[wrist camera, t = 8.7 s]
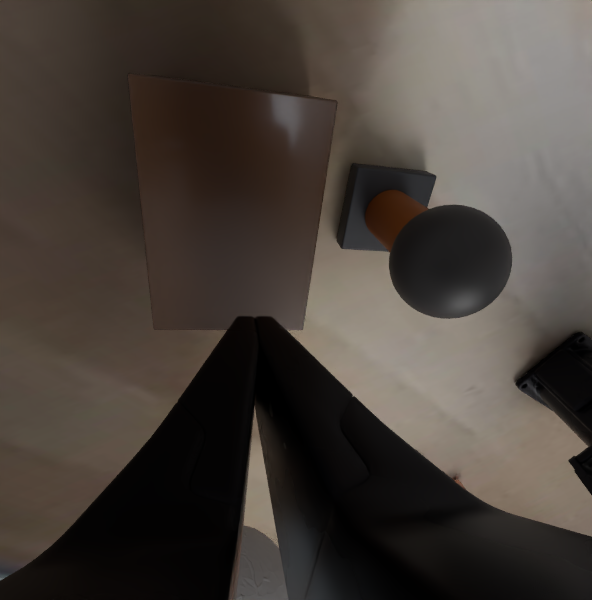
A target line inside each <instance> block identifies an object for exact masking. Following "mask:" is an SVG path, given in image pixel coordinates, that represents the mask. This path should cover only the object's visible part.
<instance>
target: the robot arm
mask: <svg viewBox="0 0 592 600" xmlns="http://www.w3.org/2000/svg"><path fill="white" fill-rule="evenodd" d="M516 386H517V387H518V388H519V389H520V390H521V391H523V392H524V393H526V394H527V395H529V396H530V397H532V398H534V399H535V400H537V401H538V402H540V403H541V404H543V405H544V406H546V407H548V408H549V409H551V410H552V411H554V412H555V413H556V414H557V415H558V416H559V417H560V418H561V419H562V420H563V421H564V422H565V423H566V424H567V425H568V426H569V427H570V428H571V429H572V430H573V431H574V432H575V433H576V434H577V435H578V437H579V438H580V439H581V440H582V441H583V442H584V443H585V444H586V445H587V446H588V448H586V449H585V450H584V451H582V452H581V453H580V454H578V455H577V456H573V457H572V458H571V459H569V460H568V461H569V462H570V464H571V465H572V466H573V468H574V469H575V470H574V471H575V473H576V474H577V476H578V477H579V478H580V480H581V481H582V483H583V484H584V485H585V487H586V488H587V489H588V491H589V492H590V494H591V495H592V340H591V339H590V338H589V337H588V336H587V335H585V334H584V333H583V332H578V333H576V334H574V335H573V336H572V337H571V338H569V339H568V340H567V341H566V342H564V343H563V344H562V345H561V346H560V347H558V348H557V349H556V350H555V351H554V352H552V353H551V354H550V355H549V356H547V357H546V358H545V359H544V360H543V361H541V362H540V363H539V364H538V365H536V366H535V367H534V368H533V369H532V370H530V371H529V372H528V373H527V374H526V375H524V376H523V377H522V378H521V379H519V380H518V381H517V383H516ZM352 396H353V395H352V393H351V392H350V391H348V390H347V389H346V388H345V387H344V386H343V385H342V384H341V383H340V382H339V381H338V380H337V379H336V378H335V377H334V376H333V375H332V374H331V373H330V372H329V371H328V370H327V369H326V368H325V367H324V366H323V365H322V364H321V363H320V362H319V361H318V360H317V359H316V358H315V357H314V356H313V355H311V354H310V353H309V352H308V351H307V350H306V349H305V348H304V347H303V346H302V345H301V344H300V343H299V342H298V341H297V340H296V339H295V338H294V337H293V336H292V335H291V334H290V333H289V332H288V331H287V330H286V329H285V328H284V327H283V326H282V325H281V324H280V323H279V322H278V321H277V320H276V319H274V318H273V317H272V316H257V317H255V318H254V317H253V316H237V317H236V318H235V320H234V321H233V323H232V324H231V326H230V327H229V328H228V330H227V331H226V333H225V334H224V336H223V337H222V338H221V340H220V341H219V343H218V344H217V346H216V347H215V348H214V350H213V351H212V353H211V354H210V356H209V357H208V358H207V360H206V361H205V363H204V364H203V366H202V367H201V368H200V370H199V371H198V373H197V374H196V376H195V377H194V378H193V380H192V381H191V383H190V384H189V386H188V387H187V388H186V390H185V391H184V393H183V394H182V396H181V397H180V398H179V400H178V403H176V404H175V405H174V407H173V408H172V410H171V411H170V412H169V414H168V415H167V417H166V418H165V419H164V421H163V422H162V423H161V425H160V426H159V427H158V429H157V430H156V431H155V433H154V434H153V435H152V437H151V438H150V439H149V440H148V441H147V442H146V444H145V445H144V446H143V447H142V448H141V449H140V451H139V452H138V453H137V454H136V455H135V456H134V457H133V459H132V460H131V461H130V462H129V463H128V464H127V465H126V466H125V468H124V469H123V470H122V471H121V472H120V473H119V474H118V475H117V476H116V477H115V479H114V480H113V481H112V482H111V483H110V484H109V485H108V486H107V487H106V488H105V490H104V491H103V492H102V493H101V494H100V495H99V496H98V497H97V498H96V500H95V501H94V502H93V503H92V504H91V505H90V506H89V507H88V508H87V509H86V511H85V512H84V513H83V514H82V515H81V516H80V517H79V518H78V519H77V520H76V522H75V523H74V524H73V525H72V526H71V527H70V528H69V529H68V530H67V531H66V532H65V533H64V534H63V535H62V536H61V537H60V538H59V539H58V540H57V541H56V542H55V543H54V544H53V545H52V546H50V547H49V548H48V549H47V550H46V551H44V552H43V553H42V554H41V555H39V556H38V557H37V558H36V559H34V560H33V561H32V562H30V563H29V564H27V565H26V566H25V567H23V568H21V569H20V570H18V571H16V572H15V573H13V574H11V575H9V576H8V577H6V578H4V579H3V580H1V581H0V600H236V596H237V586H238V575H239V565H240V554H241V544H242V533H243V523H244V512H245V502H246V492H247V481H248V471H249V460H250V450H251V439H252V429H253V418H254V406H255V410H256V417H257V422H258V428H259V434H260V440H261V446H262V451H263V457H264V463H265V469H266V474H267V480H268V486H269V492H270V497H271V503H272V509H273V515H274V520H275V526H276V532H277V538H278V543H279V549H280V555H281V561H282V566H283V572H284V578H285V584H286V590H287V595H288V600H592V537H591V536H587V535H584V534H580V533H577V532H573V531H570V530H566V529H563V528H559V527H556V526H552V525H549V524H545V523H542V522H538V521H535V520H531V519H528V518H524V517H521V516H517V515H514V514H510V513H507V512H505V511H502V510H500V509H497V508H495V507H493V506H491V505H489V504H487V503H485V502H483V501H482V500H480V499H479V498H477V497H475V496H474V495H472V494H471V493H469V492H468V491H467V490H465V489H464V488H463V487H461V486H460V485H459V484H458V483H456V482H455V481H454V480H453V479H451V478H450V477H449V476H448V475H446V474H445V473H444V472H443V471H441V470H440V469H439V468H438V467H436V466H435V465H434V464H433V463H431V462H430V461H429V460H428V459H426V458H425V457H424V456H423V455H421V454H420V453H419V452H418V451H416V450H415V449H414V448H413V447H411V446H410V445H409V444H408V443H406V442H405V441H404V440H403V439H401V438H400V437H399V436H398V435H397V434H395V433H394V432H393V431H392V430H391V429H389V428H388V427H387V426H386V425H385V424H384V423H382V422H381V421H380V420H379V419H378V418H377V417H376V416H375V415H374V414H373V413H372V412H371V411H369V410H368V409H367V408H366V407H365V406H364V405H363V404H362V403H361V402H360V401H359V400H358V399H357V398H356V397H354V396H353V397H352Z"/></svg>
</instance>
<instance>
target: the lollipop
mask: <svg viewBox="0 0 592 600" xmlns="http://www.w3.org/2000/svg"><path fill="white" fill-rule="evenodd" d="M236 600H288V595H287V590H286V584H285V578H284V572H283V566H282V561H281V555H280V549H279V548H278V547H277V545H276V544H275V543H274V542H273V541H272V540H271V539H270V538H268V537H267V536H266V535H265V534H263V533H261V532H260V531H258V530H256V529H255V528H252V527H248V526H244V525H243V533H242V544H241V554H240V565H239V575H238V586H237V596H236Z"/></svg>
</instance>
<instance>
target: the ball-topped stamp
mask: <svg viewBox="0 0 592 600" xmlns="http://www.w3.org/2000/svg"><path fill="white" fill-rule="evenodd" d="M435 180H436V175H434V174H431V173H429V172H427V171H420V170H411V169H402V168H393V167H384V166H375V165H366V164H356V163H352V164H351V169H350V174H349V179H348V184H347V189H346V195H345V200H344V205H343V210H342V215H341V220H340V225H339V231H338V236H337V243H338V244H339V245H340V247H341V248H342V249H354V250H371V251H387V252H390V257H389V270H390V276H391V279H392V282H393V285H394V287H395V289H396V291H397V292H398V294H399V295H400V297H401V298H402V299H403V300H404V301H405V302H406V303H407V304H408V305H410V306H411V307H412V308H414V309H415V310H417V311H419V312H421V313H423V314H426V315H429V316H432V317H437V318H448V319H450V318H460V317H464V316H468V315H471V314H473V313H476V312H478V311H480V310H482V309H483V308H485V307H486V306H488V305H489V304H490V303H492V302H493V301H494V300H495V299H496V298H497V297H498V296H499V294H500V293H501V292H502V290H503V289H504V287H505V285H506V283H507V281H508V279H509V276H510V272H511V267H512V252H511V246H510V243H509V240H508V238H507V236H506V234H505V232H504V231H503V229H502V228H501V226H500V225H499V224H498V223H497V222H496V221H495V220H494V219H492V218H491V217H490V216H488V215H487V214H485V213H484V212H482V211H480V210H477V209H475V208H472V207H468V206H463V205H443V206H438V207H435V208H431V209H428V208H427V206H428V203H429V200H430V196H431V193H432V190H433V187H434V184H435Z"/></svg>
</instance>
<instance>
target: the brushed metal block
mask: <svg viewBox="0 0 592 600" xmlns="http://www.w3.org/2000/svg"><path fill="white" fill-rule="evenodd" d="M128 85H129V95H130V104H131V114H132V124H133V133H134V143H135V153H136V163H137V172H138V182H139V192H140V202H141V211H142V221H143V231H144V240H145V250H146V260H147V270H148V279H149V289H150V299H151V309H152V318H153V328H154V329H155V330H228V328H229V327H230V326H231V324H232V323H233V321H234V320H235V318H236V317H237V316H253V317H254V318H255V317H257V316H272V317H273V318H274V319H276V320H277V321H278V322H279V323H280V324H281V325H282V326H283V327H284V328H285V329H286V330H303V326H304V319H305V312H306V306H307V299H308V293H309V286H310V280H311V273H312V267H313V260H314V254H315V247H316V241H317V234H318V228H319V221H320V215H321V208H322V202H323V195H324V189H325V182H326V176H327V169H328V162H329V156H330V149H331V143H332V136H333V130H334V123H335V117H336V110H337V104H338V102H337V101H336V100H331V99H325V98H319V97H313V96H306V95H299V94H291V93H283V92H276V91H268V90H261V89H253V88H246V87H238V86H231V85H223V84H216V83H208V82H201V81H193V80H186V79H178V78H171V77H163V76H156V75H145V74H134V73H128Z"/></svg>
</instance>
